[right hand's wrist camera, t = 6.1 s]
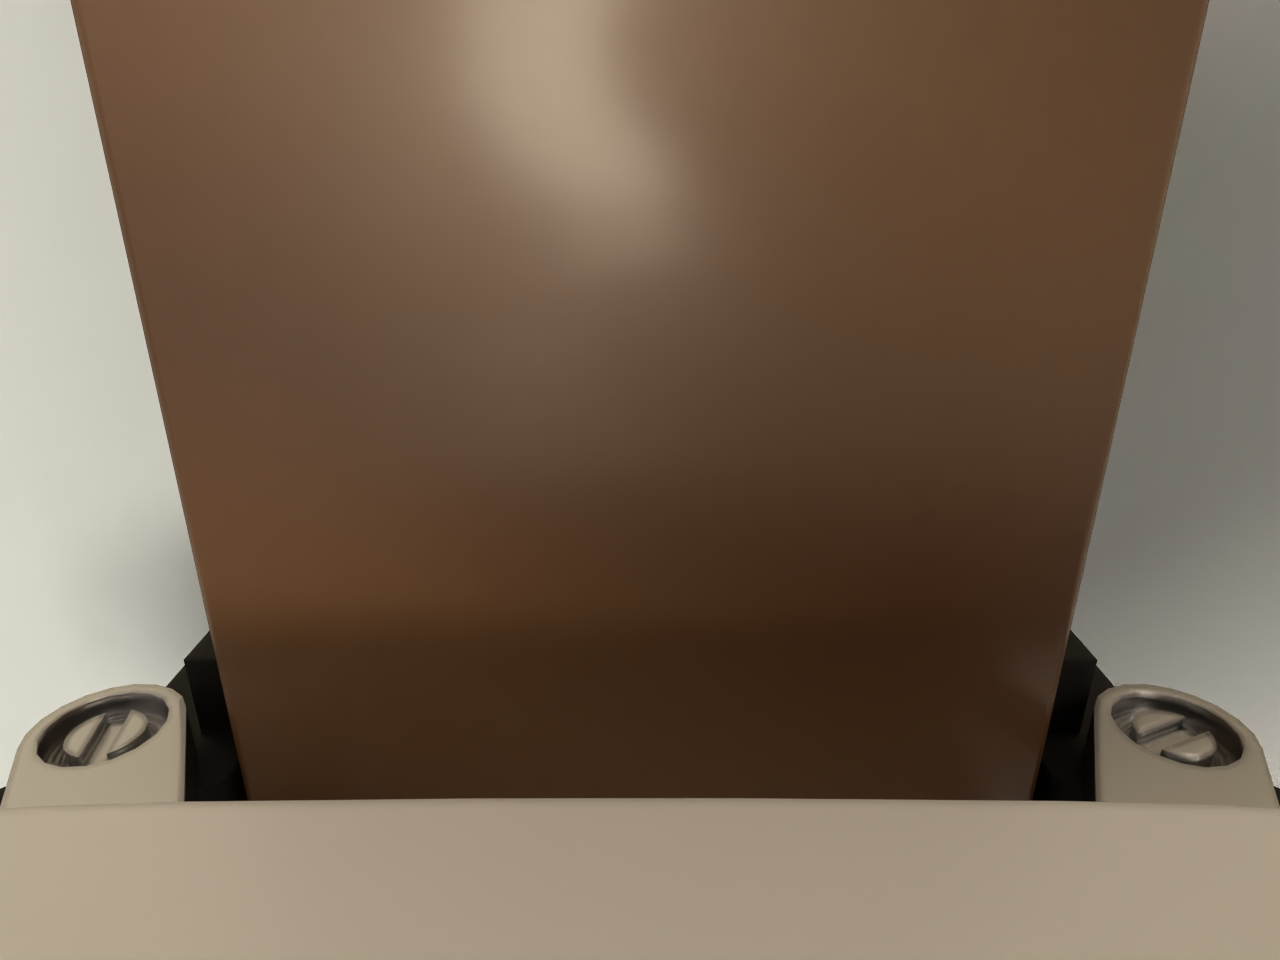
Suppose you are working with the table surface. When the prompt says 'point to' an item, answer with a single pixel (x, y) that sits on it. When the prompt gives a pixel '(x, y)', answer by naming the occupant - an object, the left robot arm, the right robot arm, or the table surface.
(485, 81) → the beam
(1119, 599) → the table surface
